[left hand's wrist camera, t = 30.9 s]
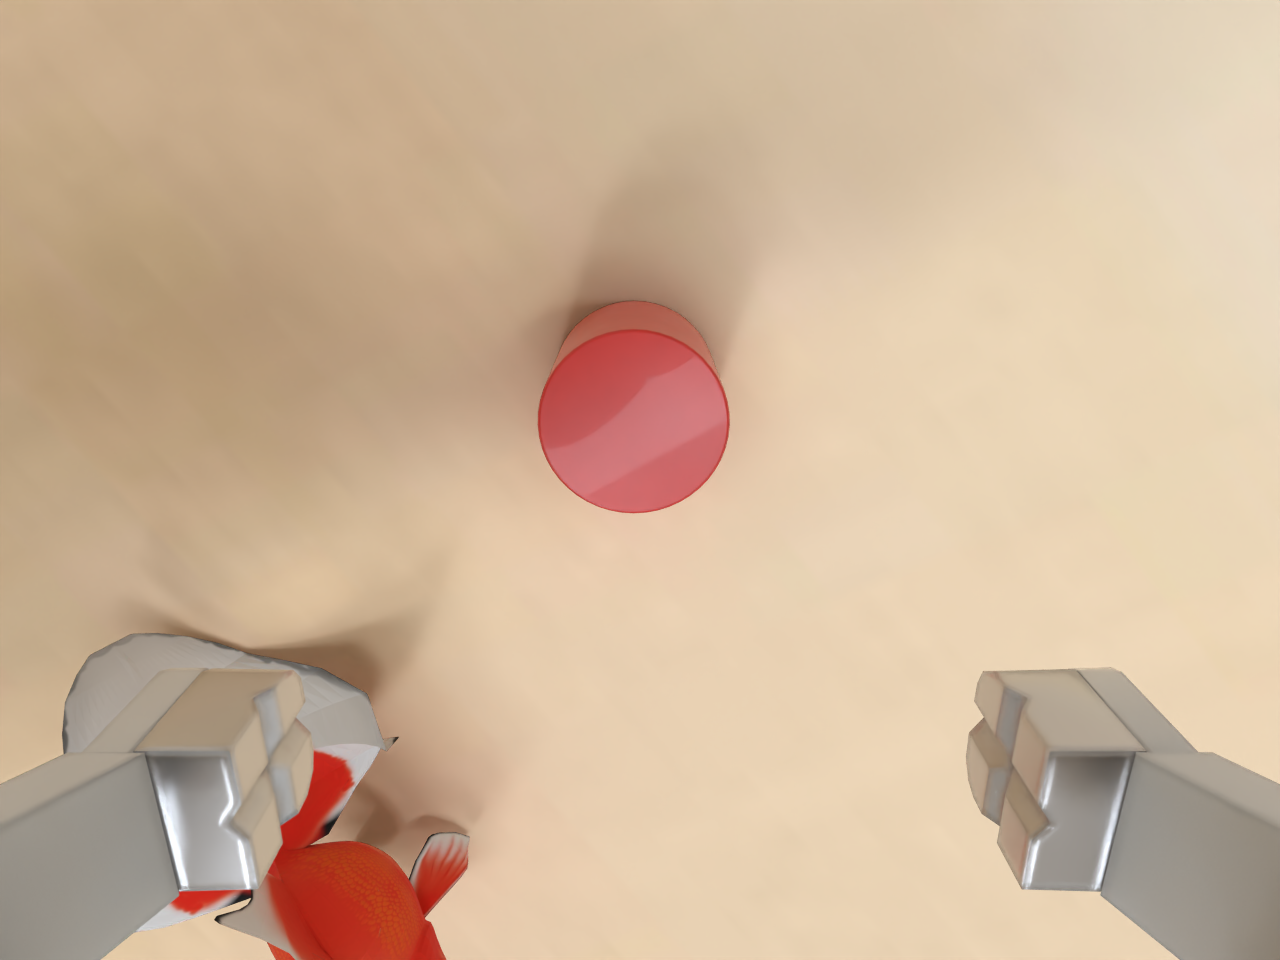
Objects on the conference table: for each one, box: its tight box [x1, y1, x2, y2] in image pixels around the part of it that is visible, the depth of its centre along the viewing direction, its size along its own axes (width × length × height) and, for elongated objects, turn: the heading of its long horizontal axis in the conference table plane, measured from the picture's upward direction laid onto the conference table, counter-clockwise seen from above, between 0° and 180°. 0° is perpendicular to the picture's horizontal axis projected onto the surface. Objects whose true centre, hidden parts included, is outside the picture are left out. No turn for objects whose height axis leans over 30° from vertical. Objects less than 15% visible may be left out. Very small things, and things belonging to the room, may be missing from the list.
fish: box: [62, 633, 470, 960], centre depth 26 cm, size 11×16×10 cm
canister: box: [538, 301, 730, 513], centre depth 23 cm, size 5×5×4 cm
